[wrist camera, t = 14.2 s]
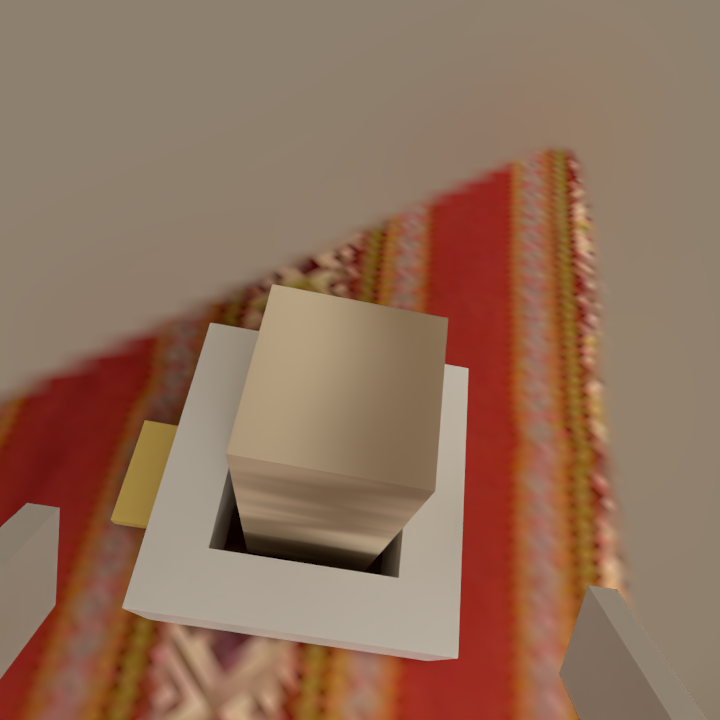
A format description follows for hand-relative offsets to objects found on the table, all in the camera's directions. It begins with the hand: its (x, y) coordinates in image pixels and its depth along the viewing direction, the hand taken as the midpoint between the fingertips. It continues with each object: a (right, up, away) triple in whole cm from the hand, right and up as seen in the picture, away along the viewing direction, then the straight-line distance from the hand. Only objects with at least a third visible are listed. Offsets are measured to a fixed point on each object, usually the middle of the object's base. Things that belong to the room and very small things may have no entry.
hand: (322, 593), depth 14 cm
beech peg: (-1, 0, +9) cm, 9 cm away
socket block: (-2, 0, +9) cm, 9 cm away
